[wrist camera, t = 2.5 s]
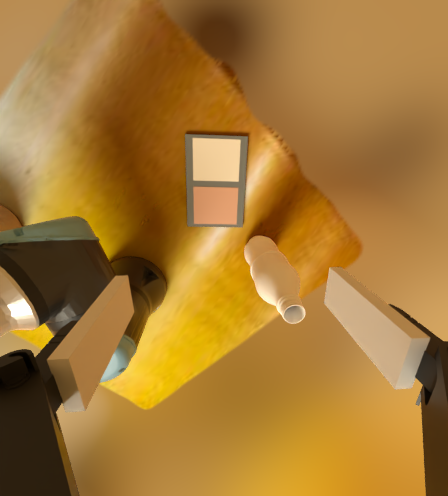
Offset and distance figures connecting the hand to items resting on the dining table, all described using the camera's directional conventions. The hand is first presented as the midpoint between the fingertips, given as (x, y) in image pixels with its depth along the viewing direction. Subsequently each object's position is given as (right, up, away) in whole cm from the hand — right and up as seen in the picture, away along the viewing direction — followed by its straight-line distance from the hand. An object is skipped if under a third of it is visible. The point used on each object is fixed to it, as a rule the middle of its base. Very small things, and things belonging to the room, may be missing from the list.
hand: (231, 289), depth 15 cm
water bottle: (+7, +3, +39) cm, 39 cm away
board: (-2, +16, +33) cm, 37 cm away
